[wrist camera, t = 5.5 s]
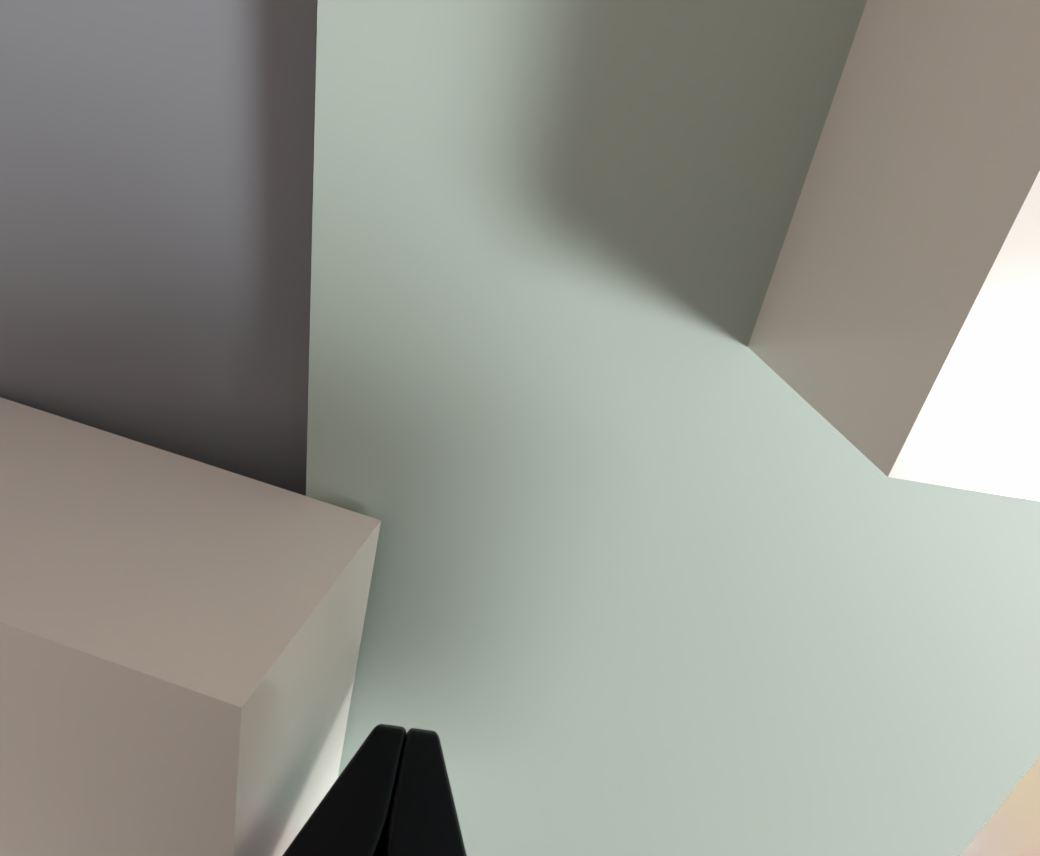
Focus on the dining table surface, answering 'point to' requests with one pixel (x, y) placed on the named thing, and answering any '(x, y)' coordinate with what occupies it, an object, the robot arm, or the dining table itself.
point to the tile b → (923, 249)
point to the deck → (634, 449)
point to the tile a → (166, 647)
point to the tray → (161, 222)
